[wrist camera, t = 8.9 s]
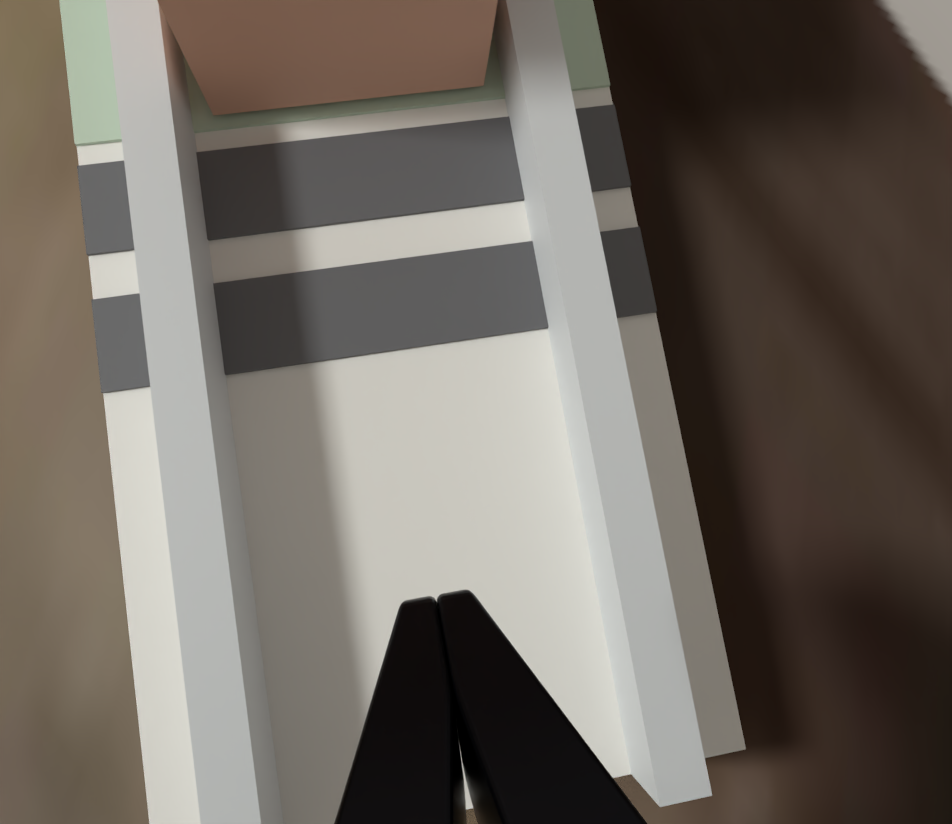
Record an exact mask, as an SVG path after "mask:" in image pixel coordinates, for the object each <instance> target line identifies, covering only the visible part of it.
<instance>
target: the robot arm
mask: <svg viewBox="0 0 952 824" xmlns="http://www.w3.org/2000/svg"><path fill="white" fill-rule="evenodd" d="M459 746H460V747H459ZM460 752H461V754H460ZM461 758H462V761H461ZM462 763H463V768H464V773H465V778H466V782H467V786H468V790H469V794H470V798H471V801H472V805H473V808H474V812H475V815H476V819H477V822H478V824H647V823H646V821H645V820H644V819H643V817H642V816H641V815H640V813H639V812H638V811H637V809H636V808H635V807H634V805H633V804H632V803H631V801H630V800H629V799H628V797H627V796H626V795H625V793H624V792H623V791H622V789H621V788H620V787H619V786H618V784H617V783H616V782H615V780H614V779H613V778H612V776H611V775H610V774H609V772H608V771H607V770H606V768H605V767H604V766H603V764H602V763H601V762H600V760H599V759H598V758H597V756H596V755H595V754H594V752H593V751H592V750H591V748H590V747H589V746H588V744H587V743H586V742H585V740H584V739H583V738H582V736H581V735H580V734H579V732H578V731H577V730H576V729H575V727H574V726H573V725H572V723H571V722H570V721H569V719H568V718H567V717H566V715H565V714H564V713H563V711H562V710H561V709H560V707H559V706H558V705H557V703H556V702H555V701H554V699H553V698H552V697H551V695H550V694H549V693H548V691H547V690H546V689H545V687H544V686H543V685H542V683H541V682H540V681H539V679H538V678H537V677H536V675H535V674H534V673H533V671H532V670H531V669H530V668H529V666H528V665H527V664H526V662H525V661H524V660H523V658H522V657H521V656H520V654H519V653H518V652H517V650H516V649H515V648H514V646H513V645H512V644H511V642H510V641H509V640H508V638H507V637H506V636H505V634H504V633H503V632H502V630H501V629H500V628H499V626H498V625H497V624H496V622H495V621H494V620H493V618H492V617H491V616H490V614H489V613H488V612H487V611H486V609H485V608H484V607H483V605H482V604H481V603H480V601H479V600H478V599H477V597H476V596H475V595H474V594H473V593H472V592H471V591H470V590H459V591H454V592H448V593H443V594H440V595H439V596H438V598H437V602H436V599H435V598H434V597H432V596H426V597H421V598H415V599H410V600H405V601H403V602H402V603H401V605H400V607H399V609H398V612H397V616H396V619H395V622H394V626H393V629H392V632H391V636H390V639H389V642H388V646H387V649H386V652H385V656H384V659H383V662H382V666H381V669H380V672H379V676H378V679H377V682H376V686H375V689H374V692H373V696H372V699H371V702H370V706H369V709H368V712H367V716H366V719H365V722H364V726H363V729H362V732H361V736H360V739H359V742H358V746H357V749H356V752H355V756H354V759H353V762H352V766H351V769H350V772H349V776H348V779H347V782H346V785H345V789H344V792H343V795H342V799H341V802H340V805H339V809H338V812H337V815H336V819H335V822H334V824H467V821H466V800H465V787H464V776H463V769H462Z"/></svg>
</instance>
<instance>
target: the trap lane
mask: <svg viewBox="0 0 952 824" xmlns="http://www.w3.org/2000/svg"><path fill="white" fill-rule="evenodd" d="M59 1H60V10H61V19H62V29H63V38H64V47H65V57H66V66H67V75H68V85H69V94H70V103H71V113H72V122H73V131H74V141H75V145H76V146H77V152H78V161H79V166H77V169H78V178H79V188H80V197H81V206H82V216H83V225H84V234H85V244H86V253H87V255H88V256H89V264H90V273H91V283H92V292H93V299H92V309H93V318H94V328H95V337H96V346H97V356H98V365H99V374H100V384H101V393H103V394H104V404H105V413H106V422H107V432H108V441H109V450H110V460H111V469H112V478H113V488H114V497H115V506H116V516H117V525H118V534H119V543H120V553H121V562H122V571H123V581H124V590H125V599H126V609H127V618H128V627H129V637H130V646H131V655H132V665H133V674H134V683H135V693H136V702H137V711H138V721H139V730H140V739H141V749H142V758H143V767H144V777H145V786H146V795H147V804H148V814H149V823H150V824H334V822H335V819H336V815H337V812H338V809H339V805H340V802H341V799H342V795H343V792H344V789H345V785H346V782H347V779H348V776H349V772H350V769H351V766H352V762H353V759H354V756H355V752H356V749H357V746H358V742H359V739H360V736H361V732H362V729H363V726H364V722H365V719H366V716H367V712H368V709H369V706H370V702H371V699H372V696H373V692H374V689H375V686H376V682H377V679H378V676H379V672H380V669H381V666H382V662H383V659H384V656H385V652H386V649H387V646H388V642H389V639H390V636H391V632H392V629H393V626H394V622H395V619H396V616H397V612H398V609H399V607H400V605H401V603H402V602H403V601H405V600H410V599H415V598H421V597H426V596H432V597H434V598H435V599H436V602H437V598H438V596H439V595H440V594H443V593H448V592H454V591H459V590H470V591H471V592H472V593H473V594H474V595H475V596H476V597H477V599H478V600H479V601H480V603H481V604H482V605H483V607H484V608H485V609H486V611H487V612H488V613H489V614H490V616H491V617H492V618H493V620H494V621H495V622H496V624H497V625H498V626H499V628H500V629H501V630H502V632H503V633H504V634H505V636H506V637H507V638H508V640H509V641H510V642H511V644H512V645H513V646H514V648H515V649H516V650H517V652H518V653H519V654H520V656H521V657H522V658H523V660H524V661H525V662H526V664H527V665H528V666H529V668H530V669H531V670H532V671H533V673H534V674H535V675H536V677H537V678H538V679H539V681H540V682H541V683H542V685H543V686H544V687H545V689H546V690H547V691H548V693H549V694H550V695H551V697H552V698H553V699H554V701H555V702H556V703H557V705H558V706H559V707H560V709H561V710H562V711H563V713H564V714H565V715H566V717H567V718H568V719H569V721H570V722H571V723H572V725H573V726H574V727H575V729H576V730H577V731H578V732H579V734H580V735H581V736H582V738H583V739H584V740H585V742H586V743H587V744H588V746H589V747H590V748H591V750H592V751H593V752H594V754H595V755H596V756H597V758H598V759H599V760H600V762H601V763H602V764H603V766H604V767H605V768H606V770H607V771H608V772H609V774H610V775H611V776H612V778H615V777H620V776H624V775H629V774H632V776H633V777H634V778H635V779H636V780H637V781H638V782H639V784H640V785H641V786H642V787H643V788H644V789H645V790H646V792H647V793H648V794H649V795H650V796H651V797H652V799H653V800H654V801H655V802H656V803H657V804H658V805H659V807H663V806H667V805H672V804H676V803H681V802H685V801H690V800H694V799H699V798H703V797H708V796H712V792H711V787H710V782H709V777H708V772H707V767H706V762H705V758H708V757H712V756H717V755H722V754H726V753H731V752H736V751H740V750H745V749H746V747H745V742H744V737H743V732H742V727H741V722H740V718H739V713H738V708H737V703H736V698H735V693H734V689H733V684H732V679H731V674H730V669H729V664H728V660H727V655H726V650H725V645H724V640H723V635H722V630H721V626H720V621H719V616H718V611H717V606H716V601H715V597H714V592H713V587H712V582H711V577H710V572H709V568H708V563H707V558H706V553H705V548H704V543H703V538H702V534H701V529H700V524H699V519H698V514H697V509H696V505H695V500H694V495H693V490H692V485H691V480H690V476H689V471H688V466H687V461H686V456H685V451H684V446H683V442H682V437H681V432H680V427H679V422H678V417H677V413H676V408H675V403H674V398H673V393H672V388H671V384H670V379H669V374H668V369H667V364H666V359H665V354H664V350H663V345H662V340H661V335H660V330H659V325H658V321H657V316H656V312H657V308H656V303H655V298H654V293H653V288H652V283H651V279H650V274H649V269H648V264H647V259H646V254H645V250H644V245H643V240H642V235H641V230H640V227H638V224H637V219H636V214H635V209H634V204H633V200H632V195H631V190H630V186H631V182H630V177H629V172H628V167H627V162H626V158H625V153H624V148H623V143H622V138H621V133H620V129H619V124H618V119H617V114H616V109H615V104H613V103H612V98H611V93H610V88H609V86H610V80H609V75H608V71H607V66H606V61H605V56H604V51H603V46H602V42H601V37H600V32H599V27H598V22H597V17H596V13H595V8H594V3H593V0H498V3H497V9H496V15H495V21H494V27H493V33H492V39H491V45H490V51H489V57H488V63H487V69H486V75H485V81H484V86H478V87H469V88H460V89H451V90H442V91H433V92H423V93H414V94H405V95H396V96H387V97H378V98H369V99H359V100H350V101H341V102H332V103H323V104H314V105H305V106H296V107H286V108H277V109H268V110H259V111H250V112H241V113H232V114H222V115H213V114H212V112H211V110H210V108H209V106H208V104H207V101H206V99H205V97H204V95H203V93H202V91H201V89H200V87H199V85H198V83H197V81H196V79H195V77H194V75H193V73H192V71H191V69H190V67H189V65H188V62H187V60H186V58H185V56H184V54H183V52H182V50H181V48H180V46H179V44H178V42H177V40H176V38H175V36H174V34H173V32H172V30H171V28H170V26H169V23H168V21H167V19H166V17H165V15H164V13H163V11H162V9H161V7H160V5H159V3H158V1H157V0H59ZM459 747H460V746H459ZM460 754H461V752H460ZM461 761H462V758H461ZM462 769H463V776H464V787H465V800H466V810H467V809H471V808H473V805H472V801H471V798H470V794H469V790H468V786H467V782H466V778H465V773H464V768H463V763H462Z"/></svg>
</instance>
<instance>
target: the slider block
mask: <svg viewBox="0 0 952 824" xmlns="http://www.w3.org/2000/svg"><path fill="white" fill-rule="evenodd" d="M157 1H158V3H159V5H160V7H161V9H162V11H163V13H164V15H165V17H166V19H167V21H168V23H169V26H170V28H171V30H172V32H173V34H174V36H175V38H176V40H177V42H178V44H179V46H180V48H181V50H182V52H183V54H184V56H185V58H186V60H187V62H188V65H189V67H190V69H191V71H192V73H193V75H194V77H195V79H196V81H197V83H198V85H199V87H200V89H201V91H202V93H203V95H204V97H205V99H206V101H207V104H208V106H209V108H210V110H211V112H212V114H213V115H222V114H232V113H241V112H250V111H259V110H268V109H277V108H286V107H296V106H305V105H314V104H323V103H332V102H341V101H350V100H359V99H369V98H378V97H387V96H396V95H405V94H414V93H423V92H433V91H442V90H451V89H460V88H469V87H478V86H484V81H485V75H486V69H487V63H488V57H489V51H490V45H491V39H492V33H493V27H494V21H495V15H496V9H497V3H498V0H157Z"/></svg>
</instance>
